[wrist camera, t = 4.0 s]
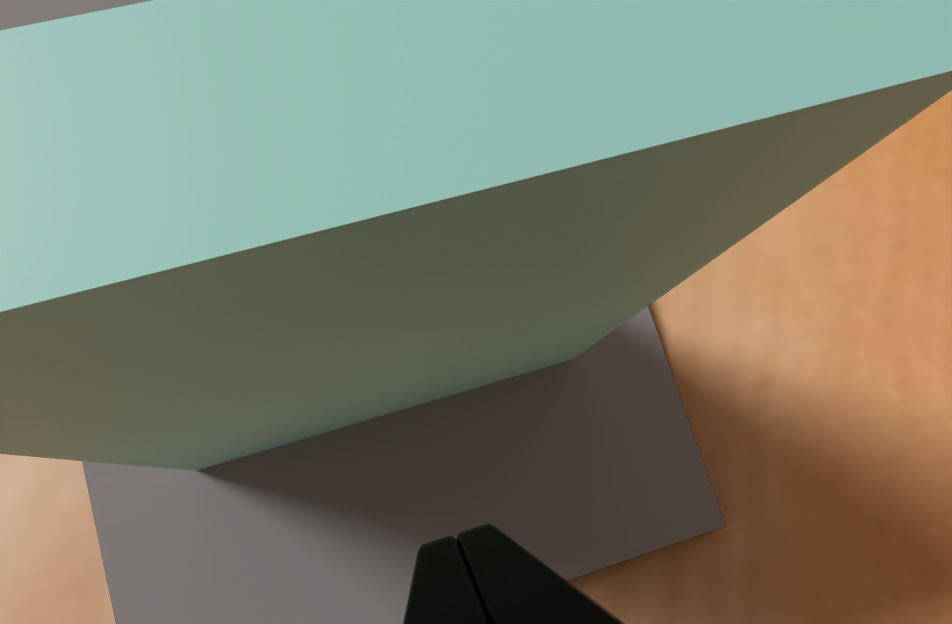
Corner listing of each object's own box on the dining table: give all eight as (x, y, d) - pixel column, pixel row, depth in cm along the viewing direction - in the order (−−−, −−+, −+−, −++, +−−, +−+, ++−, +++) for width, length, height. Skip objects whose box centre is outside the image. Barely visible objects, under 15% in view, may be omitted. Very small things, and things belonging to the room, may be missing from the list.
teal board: (573, 359, 17) (994, 60, 5) (196, 470, 15) (-416, 418, 4) (550, 289, 17) (895, -148, 5) (177, 393, 16) (-443, 117, 4)
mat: (718, 525, 17) (726, 525, 16) (144, 723, 15) (137, 729, 14) (471, -173, 20) (472, -186, 19) (-26, -87, 18) (-35, -100, 18)
